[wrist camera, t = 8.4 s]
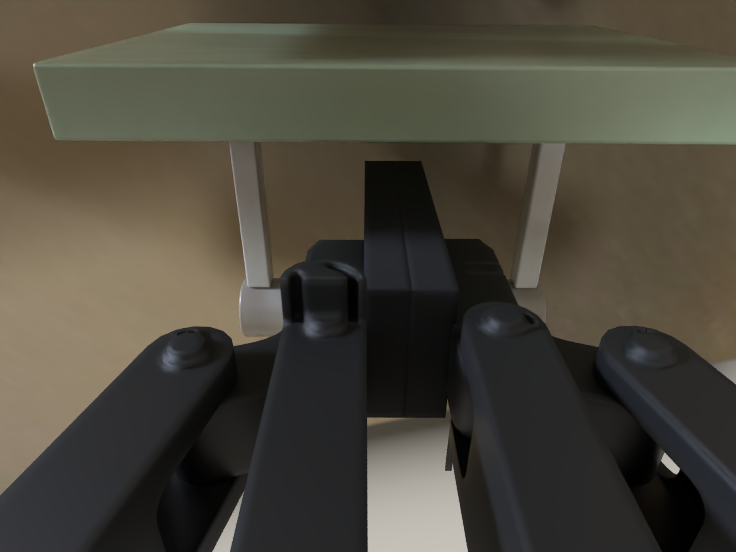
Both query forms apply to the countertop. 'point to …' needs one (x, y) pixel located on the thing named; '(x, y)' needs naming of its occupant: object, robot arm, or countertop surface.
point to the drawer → (390, 105)
